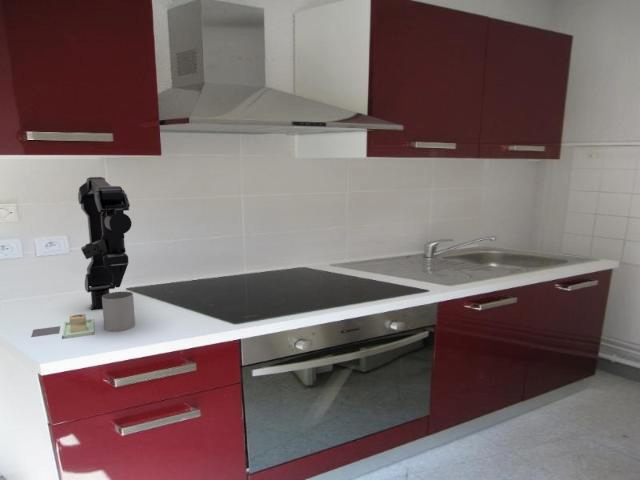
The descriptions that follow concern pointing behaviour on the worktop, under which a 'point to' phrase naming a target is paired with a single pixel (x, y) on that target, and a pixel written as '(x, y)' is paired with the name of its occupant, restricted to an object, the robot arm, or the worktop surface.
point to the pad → (45, 331)
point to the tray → (68, 334)
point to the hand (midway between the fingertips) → (116, 283)
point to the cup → (118, 311)
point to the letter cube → (77, 323)
